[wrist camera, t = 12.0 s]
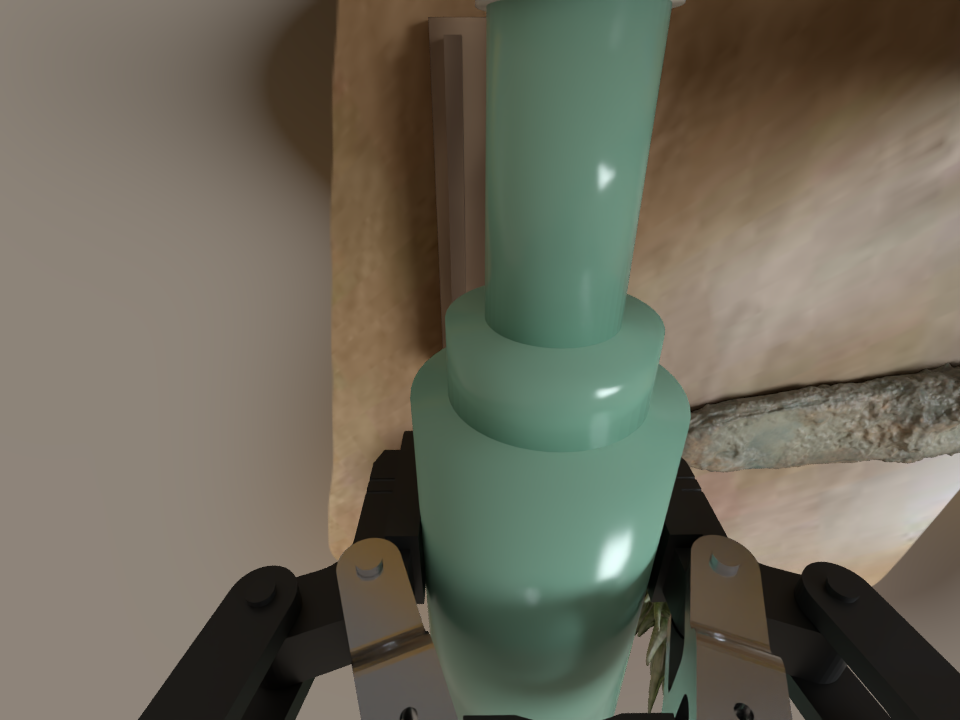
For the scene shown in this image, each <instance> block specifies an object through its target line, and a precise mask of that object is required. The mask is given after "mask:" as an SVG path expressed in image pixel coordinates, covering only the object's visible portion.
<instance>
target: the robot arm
mask: <svg viewBox="0 0 960 720" xmlns="http://www.w3.org/2000/svg"><path fill="white" fill-rule="evenodd" d="M425 588H426V576H425V564H424V552H423V539H422V527H421V515H420V508H419V496H418V484H417V472H416V460H415V448H414V436H413V431H404V434H403V439H402V445H401V450H384V451H383V453H382V454H381V455H380V456H379V457H378V459H377V460H376V461H375V462H374V463H373V467H372V471H371V475H370V481H369V483H368V487H367V494H366V495H365V499H364V503H363V507H362V511H361V515H360V519H359V523H358V527H357V531H356V535H355V539H354V542H353V544H352V545H351V546H350V547H349V548H347V549H346V550H345V551H344V553H343V554H342V555H341V557H340V558H339V560H338V562H336V563H335V564H333V565H331V566H329V567H327V568H325V569H322V570H319V571H316V572H313V573H309V574H306V575H302V576H299V577H295V575H294V574H293V573H292V572H291V571H290V570H288V569H287V568H284V567H281V566H266V567H262V568H259V569H256V570H254V571H251V572H250V573H248V574H247V575H245V576H244V577H242V578H241V579H240V580H239V581H238V582H237V583H236V584H235V585H234V586H233V587H232V588H231V590H230V591H229V593H228V594H227V595H226V597H225V598H224V600H223V601H222V603H221V604H220V606H219V607H218V608H217V610H216V611H215V612H214V614H213V615H212V616H211V618H210V619H209V621H208V622H207V623H206V625H205V626H204V628H203V629H202V631H201V632H200V633H199V635H198V636H197V638H196V639H195V640H194V642H193V643H192V645H191V646H190V647H189V649H188V650H187V652H186V653H185V655H184V656H183V657H182V659H181V660H180V661H179V663H178V664H177V666H176V667H175V669H174V670H173V671H172V673H171V674H170V676H169V677H168V678H167V680H166V681H165V683H164V684H163V685H162V687H161V688H160V690H159V691H158V693H157V694H156V695H155V697H154V698H153V699H152V701H151V702H150V704H149V705H148V706H147V708H146V709H145V711H144V712H143V713H142V715H141V716H140V718H139V719H138V720H295V719H296V717H297V715H298V713H299V711H300V708H301V706H302V704H303V702H304V700H305V698H306V696H307V694H308V691H309V689H310V687H311V685H312V683H313V681H314V679H315V677H316V676H319V675H322V674H325V673H328V672H331V671H333V670H336V669H339V668H342V667H345V666H347V665H350V664H352V669H353V675H354V681H355V687H356V693H357V698H358V704H359V710H360V715H361V720H458V718H457V715H456V711H455V708H454V705H453V702H452V699H451V696H450V693H449V690H448V687H447V684H446V681H445V678H444V674H443V671H442V668H441V665H440V662H439V659H438V656H437V653H436V650H435V647H434V644H433V641H432V638H431V636H430V634H429V632H428V631H425V629H424V626H423V623H422V620H421V617H420V613H419V611H418V607H417V604H424V599H425ZM647 591H648V594H649V597H650V600H651V602H667V605H668V608H669V610H670V613H671V614H670V617H669V620H668V625H667V642H666V660H665V679H664V697H663V707H662V713H625V714H624V713H622V714H619V715H616V716H613V717H610V718H607V719H604V720H792V713H791V706H790V699H791V700H792V701H793V703H794V704H795V706H796V707H797V709H798V710H799V712H800V713H801V714H802V716H803V717H804V719H805V720H960V673H959V672H958V671H957V670H956V669H955V668H954V667H953V666H952V665H951V664H950V663H949V662H948V661H947V660H946V659H944V657H943V656H942V655H941V654H939V653H938V652H937V651H936V650H935V649H934V648H933V647H932V646H931V645H930V644H929V643H928V642H927V641H926V640H925V639H924V638H923V637H922V636H921V635H920V634H919V633H918V632H917V631H916V630H915V629H914V628H913V627H912V626H911V625H910V624H909V623H908V622H907V621H906V620H905V619H904V618H903V617H902V616H901V615H900V614H899V613H898V612H897V611H896V610H895V609H894V608H893V607H892V606H891V605H889V603H888V602H886V600H884V598H882V597H881V596H880V595H879V594H878V593H877V592H876V591H875V590H874V589H873V588H872V587H871V586H870V585H869V584H868V583H867V582H866V581H865V580H864V579H863V578H861V577H860V576H858V575H857V574H855V573H854V572H852V571H850V570H848V569H846V568H844V567H842V566H839V565H836V564H833V563H828V562H815V563H811V564H809V565H808V566H806V567H805V569H804V570H803V572H802V574H801V575H800V574H796V573H792V572H788V571H784V570H780V569H777V568H773V567H769V566H766V565H763V564H760V563H758V562H757V560H756V559H755V557H754V556H753V555H752V553H751V552H750V551H749V550H748V549H746V548H745V547H744V546H743V545H741V544H740V543H738V542H736V541H734V540H732V539H730V538H728V537H727V535H726V533H725V532H724V530H723V528H722V526H721V524H720V522H719V521H718V519H717V517H716V515H715V513H714V511H713V509H712V508H711V506H710V504H709V502H708V500H707V498H706V497H705V495H704V493H703V492H701V487H700V486H699V484H698V482H697V480H695V476H694V474H693V473H692V471H691V469H690V467H689V465H688V463H687V462H686V461H685V460H684V459H683V458H682V457H681V460H680V464H679V467H678V471H677V475H676V479H675V483H674V487H673V490H672V494H671V498H670V502H669V506H668V510H667V513H666V517H665V521H664V525H663V529H662V533H661V536H660V540H659V544H658V548H657V552H656V556H655V559H654V563H653V567H652V571H651V575H650V579H649V582H648V586H647ZM847 665H848V666H849V667H850V668H851V670H852V671H853V672H854V673H855V674H856V675H857V677H858V678H859V679H860V680H861V681H862V682H863V684H864V685H865V686H866V687H867V688H868V690H869V691H870V692H871V693H872V694H873V695H874V697H875V698H876V699H877V700H878V702H879V703H880V704H881V705H882V706H883V707H884V709H885V710H886V711H887V713H888V714H889V715H888V714H887V713H886V712H885V711H884V709H883V708H882V707H881V706H880V705H879V703H878V702H877V701H876V700H875V699H874V698H873V696H872V695H871V694H870V693H869V692H868V690H867V689H866V688H865V687H864V686H863V684H862V683H861V682H860V681H859V680H858V678H857V677H856V676H855V675H854V674H853V673H852V672H851V670H850V669H849V668H848V667H847ZM789 697H790V699H789ZM889 716H890V717H891V718H890V717H889ZM463 720H532V719H528V718H525V717H521V716H517V715H463Z"/></svg>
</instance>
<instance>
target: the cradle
mask: <svg viewBox="0 0 960 720" xmlns="http://www.w3.org/2000/svg"><path fill="white" fill-rule="evenodd" d="M428 21H429V44H430V67H431V90H432V113H433V136H434V159H435V182H436V205H437V228H438V251H439V274H440V297H441V320H442V343H443V349H444V348H446V329H445V315H446V311H447V309H448V308H449V306H450V305H451V304H452V303H453V302H454V301H455V300H456V299H457V298H458V297H460V296H461V295H463V294H465V293H467V292H469V291H471V290H473V289H476V288H478V287H481V286H484V285H485V161H486V17H428Z"/></svg>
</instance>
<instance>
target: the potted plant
mask: <svg viewBox="0 0 960 720" xmlns="http://www.w3.org/2000/svg"><path fill="white" fill-rule="evenodd" d="M670 614H671V613H670V610H669V608H668V605H667V602H651V600H650V597H649V594H648V591H647V590H646V594H645V598H644V602H643V605H642V609H641V613H640V617H639V621H638V624H637V628H636V632H635V635H636V634H637V633H638V637H640V636H641V635H642V634H644V633H645V632H646V631H647V630H648V629H649V628H650V627H653V626H654V628H653V632H652V635H651V639H650V643H649V647H648V651H647V657H646V665H647V666H648V665H649V663H650V662H651V665H650V675H651V680H650V687H649V699H648V713H651V709H652V706H653V704H654V701H655V699H656V696H657V693H658V690H659V687H660V685H661V683H662V690H663V695H664V679H665V660H666V642H667V625H668V620H669V617H670Z"/></svg>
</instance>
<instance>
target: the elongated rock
mask: <svg viewBox="0 0 960 720" xmlns="http://www.w3.org/2000/svg"><path fill="white" fill-rule="evenodd" d="M690 414H691V419H690V424H689V429H688V433H687V437H686V441H685V444H684V448H683V452H682V456H681V457H682V458H683V459H684V460H685V461H686V462H687V463H688V465H689V466H690V467H694V468H697V469H701V470H708V471H710V472H714V471H716V472H731V471H738V470H742V469H752V468H754V469H760V468H761V469H762V468H769V469H770V468H773V469H779V468H788V467H801V466H804V465H809V464H829V463H855V462H858V461H859V462H861V461H870V460H882V461H884V462H897V463H900V462H902V463H907V464H908V463H913V462H915V461H920V460H922V459H923V458H928V457H930V458H932V457H936V456H938V455H943V454H948V455H950V456H952V455H953V454H955V453H960V367H959V366H956V367H954V368H953V367H952V366H951V365H950V364H949V363H946V364H945V365H943V366H941V367H939V368H937V369H935V370H928V369H924V370H922V371H921V372H919V373H917V374H908V375H898V376H886V377H883V378H880V379H879V378H876V379H874V380H871V381H866V382H863V383H857V384H856V383H846V384H842V383H839V384H835V385H832V386H830V385H825V384H824V385H820V386H818V387H812V386H809V387H806V388H802V389H799V390H792V391H787V392H780V393H777V394H769V395H764V396H755V397H748V398H740V399H732V400H728V401H724V402H720V403H718V404H712V405H709V404H706V405H705V406H704V407H703V408H701V409H699V410H695V411H693V412H690Z"/></svg>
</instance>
